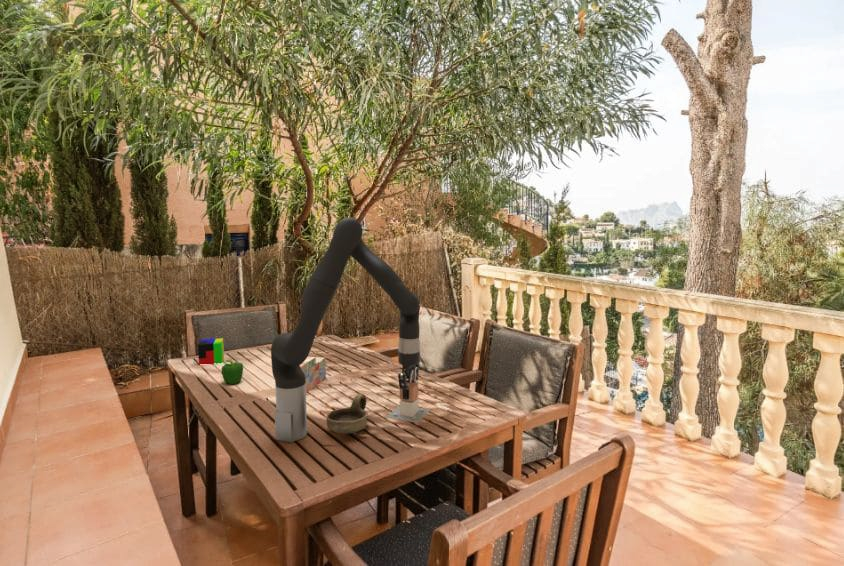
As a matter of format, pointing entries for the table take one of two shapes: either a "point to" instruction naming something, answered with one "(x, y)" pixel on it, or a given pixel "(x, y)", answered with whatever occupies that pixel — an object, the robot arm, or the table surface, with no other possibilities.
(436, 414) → the table surface
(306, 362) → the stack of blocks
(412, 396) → the rust cube
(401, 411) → the base cube
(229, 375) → the bell pepper
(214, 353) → the puzzle toy
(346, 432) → the bowl
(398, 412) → the plate
